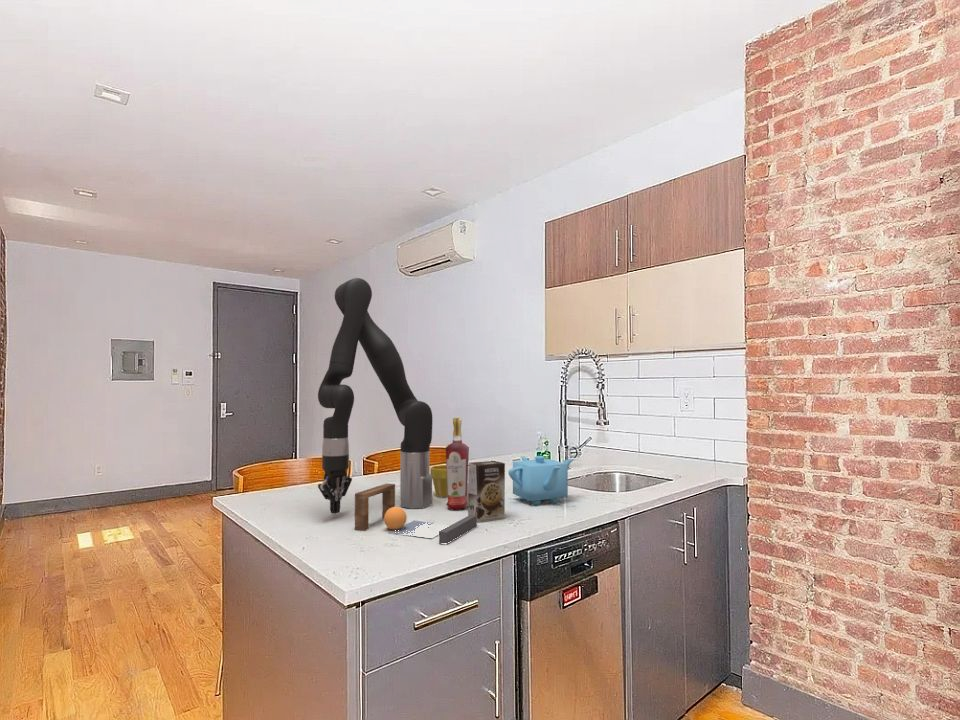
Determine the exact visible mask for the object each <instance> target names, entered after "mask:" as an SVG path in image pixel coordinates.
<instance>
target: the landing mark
mask: <svg viewBox="0 0 960 720" xmlns="http://www.w3.org/2000/svg"><path fill="white" fill-rule="evenodd" d="M426 522H427V521H420V520H412V521H410V522H408V523H405V525H404V526H403V527H402V528H400V529H398V530H399V531H398V530H396V531H395V530H390V531H389V532H387V533H388V534H390V533H395V532H396V533H395V534H394V535H397V534H404V533H406V532H407V533H406V534H408V533H410V532H411V531H413V530H414V531H415V529H416V528H415V527H416V526H418V527H419V526H420V525H423V524H425V523H426ZM422 523H423V524H422ZM428 523H431V524H433V523H434V522H427V524H428ZM419 524H420V525H419ZM431 524H428V525H431ZM418 527H417V528H418ZM428 528H429V527H428ZM406 530H407V531H406ZM408 531H410V532H408ZM398 532H399V533H398ZM403 532H404V533H403ZM411 533H413V532H411ZM414 533H415V532H414ZM412 535H413V534H412ZM409 537H411V535H410V536H409Z"/></svg>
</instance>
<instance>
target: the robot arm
mask: <svg viewBox="0 0 960 720" xmlns="http://www.w3.org/2000/svg"><path fill="white" fill-rule="evenodd" d="M372 296H373V292H372V287H371V285H370V284H369V282H367V280H365V279H363V278H360V277H355V278H351V279H349V280H347V281H345V282H343V283H341V284H340V285H339V286H338V287H337V288H336V289H335V291H334V300H335V303H336V306H337V307H338V309H339V310H340V312H341V313H342V315H343V317H342V322H341V325H340V327H339V330H338V331H337V335H336V337H335V339H334V342H333V345H332V348H331V352H330V359H329V365H328V368H327V370H326V373H325V375H324V377H323V379H322V382H321V383H320V385H319V387H318V393H317V399H318V403H319V405H320V406H321V407H322V408H324V409H334V412H333V415H332V416H328V417H326V418H324V420H323V425H322V428H323V431H322V433H323V436H322V438H323V440H322V449H321V453H322V455H321V462H322V463H321V468H322V471H324V476H323V481H322V482H321V483H318V484H317V488H318V490H319V492H320V493H321V494H322V496H323V499H325V500H328V501H329V506H330V507H329V510H330V513H331V514H332V515H333V514H335V515H336V514H339V513H341V500H342V498H343V497H346V494H347V493H348V490H349V488H350V486H351V483H352V480H353V478H352V477H349V475H348V473H347V470H348V469H349V468H350V442H349V422H350V419H351V415H352V410H353V408H354V407H353V406H354V403H355V394H354V390H353V389H352V387H351V386H350V385H348V384H341V383H342V381H343V380H345V379H348V378H349V377H351V376H352V374H353V372H354V366H355V360H356V354H357V349H358V345H359V344H360V346H361V347H362V349H363V351H364V353H365V355H366V358H367V359H368V361H369V364H370V366H371V367H372V369H373V371H374V373H375V375H376V376H377V378H378V380H379V382H380V383H381V385H382V387H383V388H384V390H385V391H386V392H387V395H388V397H389V399H390V402H391V404H392V407H393V409H394V411H395V414H396V416H397V419H398V421H399V423H400V424H401V425H402V426H403V427H404V428H403V429H404V431H403V439H402V441H401V442H400V465H399V466H400V468H399V469H400V479H399V481H400V482H399V484H400V489H399V491H400V493H399V494H400V496H399V497H400V499H399V501H400V504H399V505H400V507H401V508H406V509H425V508H427V507H429V506H431V505H433V479H432V475H431V474H430V468H431V466H430V463H431V462H430V459H431V458H430V456H431V455H430V451H431V449H430V447H431V443H432V439H433V412H432V409H431V407H430V406H429V404H428V403H427V402H425V401H421V400H418V399H417V397H416V396H415V395H414V392H413V391H412V389H411V388H410V386H409V383H408V380H407V377H406V371H405V367H404V364H403V360H402V357H401V356H400V352H398V349H397V347H396V346H395V343H394V342H393V341H392V339H391V338H390V337H389V336H388V335H387V334H386V333H385V332H384V331H383V330H382V329H381V328H380V327H379V326H378V325H377V324H376V323H375V322H374V320H373V319H372V317H371V315H370V313H369V312H368V309H369V306H370V304H371V300H372ZM358 343H359V344H358Z"/></svg>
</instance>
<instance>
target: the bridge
mask: <svg viewBox="0 0 960 720" xmlns="http://www.w3.org/2000/svg"><path fill="white" fill-rule="evenodd" d="M380 494H381V495H382V497H381V498H382V501H381V503H382V505H381V508H382V512H381V513H382V515H381V517H382V519H384V516H385V513H386V511H387V510H388V509H390V508H392V507H396V483H384V484H380V485H377V486H373V487H370V488H369V489H365V490H362V491H359V492H355V493H354V530H355V531H359V530H360V531H361V532H365V531H368V530H369V512H370V511H369V504H370V503H369V501H370V500H369V498H371V497H374V496H378V495H380ZM367 529H368V530H367Z"/></svg>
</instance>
